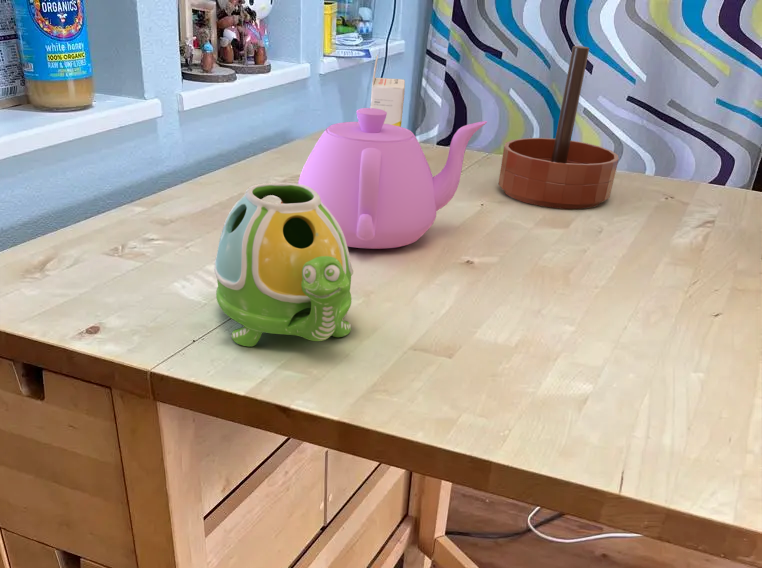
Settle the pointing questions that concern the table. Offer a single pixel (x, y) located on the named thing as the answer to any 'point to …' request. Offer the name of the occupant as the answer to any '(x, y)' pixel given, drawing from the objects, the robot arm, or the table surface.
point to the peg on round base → (570, 103)
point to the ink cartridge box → (388, 97)
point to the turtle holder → (283, 266)
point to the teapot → (381, 179)
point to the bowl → (557, 173)
